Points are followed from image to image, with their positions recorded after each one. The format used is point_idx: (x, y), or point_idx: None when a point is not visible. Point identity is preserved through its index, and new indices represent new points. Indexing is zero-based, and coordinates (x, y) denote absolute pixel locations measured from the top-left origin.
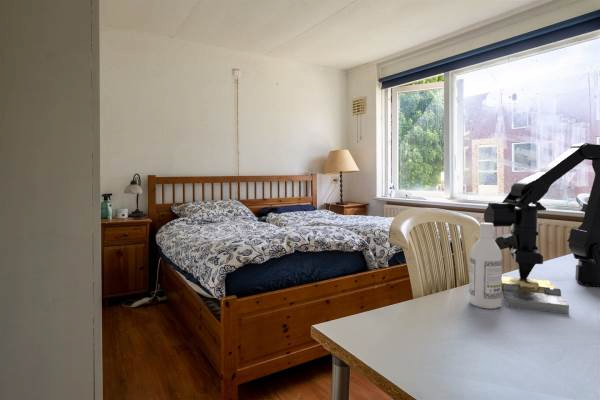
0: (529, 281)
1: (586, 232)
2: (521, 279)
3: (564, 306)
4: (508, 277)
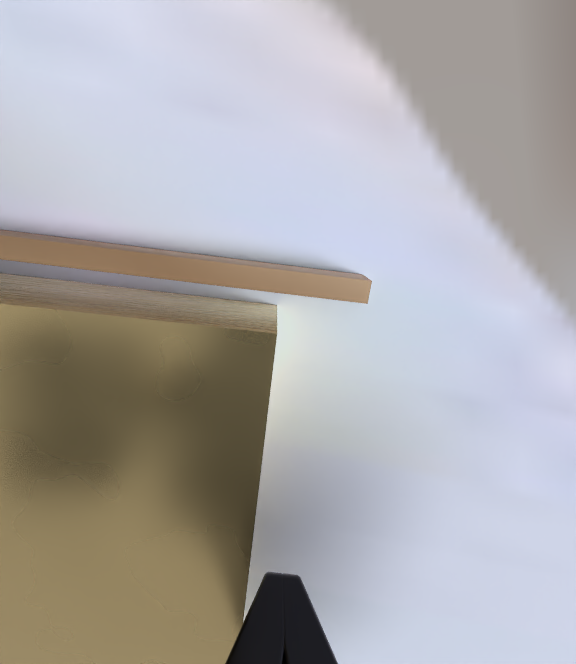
0: (101, 653)
1: None
2: (178, 593)
3: None
4: (244, 457)
